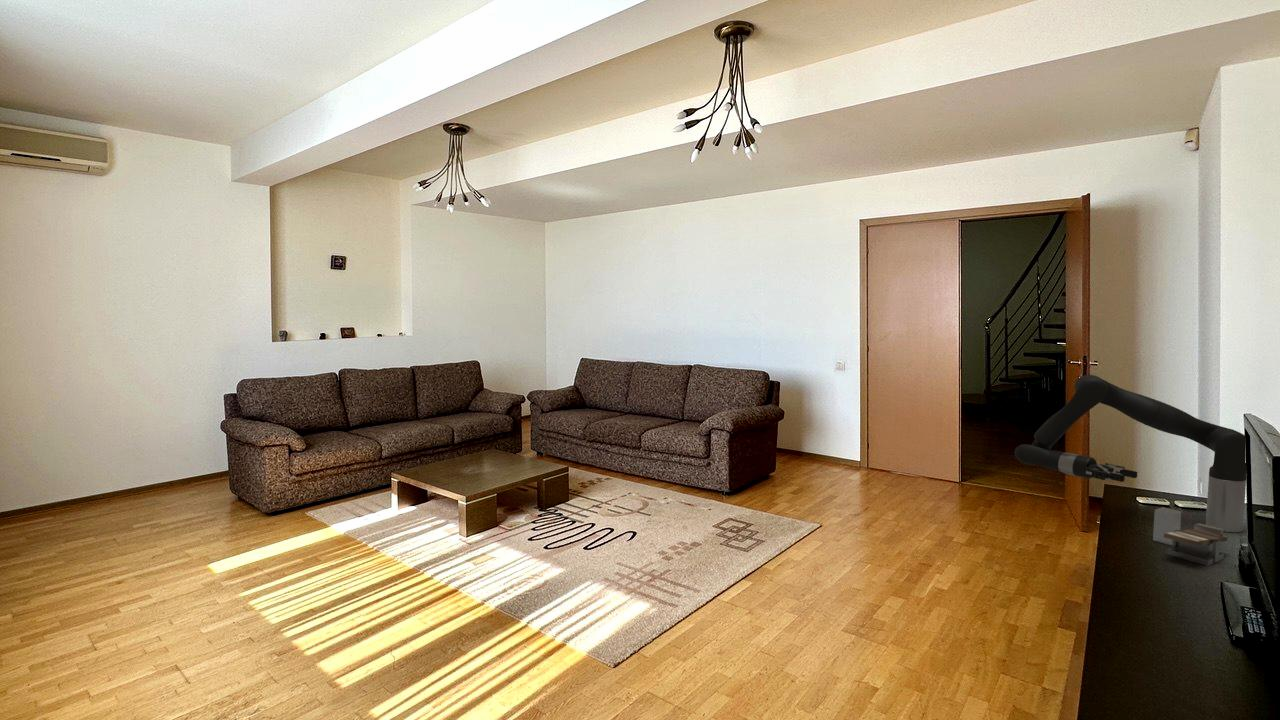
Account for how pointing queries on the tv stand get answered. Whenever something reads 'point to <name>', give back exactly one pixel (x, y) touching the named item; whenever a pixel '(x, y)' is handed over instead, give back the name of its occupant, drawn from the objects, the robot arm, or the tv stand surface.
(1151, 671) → the tv stand surface
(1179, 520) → the weight block
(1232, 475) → the robot arm
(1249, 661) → the tv stand surface
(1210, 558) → the pivot stand
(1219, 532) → the balance beam
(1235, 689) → the tv stand surface
